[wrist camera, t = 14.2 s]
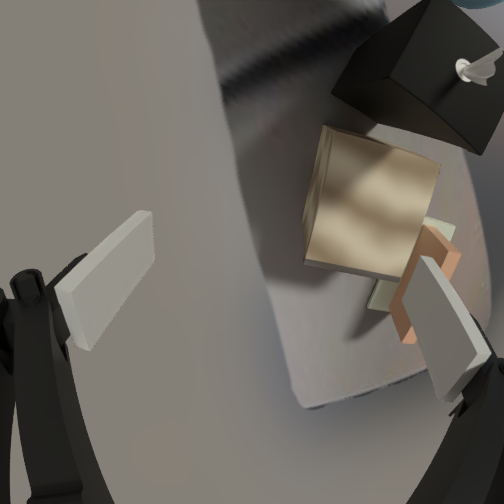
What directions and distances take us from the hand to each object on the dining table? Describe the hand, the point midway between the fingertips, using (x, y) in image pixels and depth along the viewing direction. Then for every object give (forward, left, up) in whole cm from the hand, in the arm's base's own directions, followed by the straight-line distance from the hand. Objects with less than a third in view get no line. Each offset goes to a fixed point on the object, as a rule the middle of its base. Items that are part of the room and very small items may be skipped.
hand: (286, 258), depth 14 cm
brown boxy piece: (+2, +10, -29) cm, 31 cm away
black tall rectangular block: (-12, +9, -29) cm, 33 cm away
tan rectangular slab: (+13, +24, -28) cm, 39 cm away
